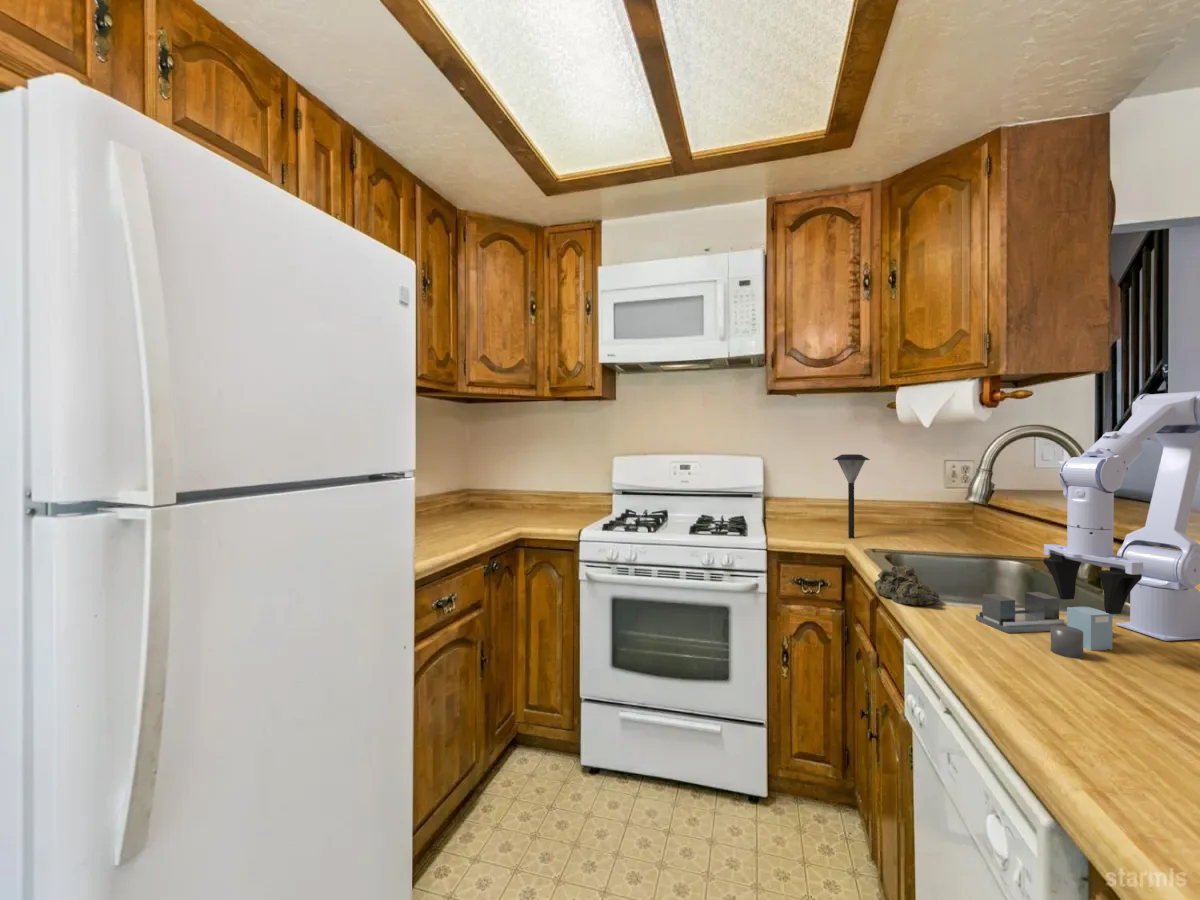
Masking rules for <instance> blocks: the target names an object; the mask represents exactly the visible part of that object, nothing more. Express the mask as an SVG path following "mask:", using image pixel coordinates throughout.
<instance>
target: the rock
mask: <svg viewBox="0 0 1200 900" xmlns="http://www.w3.org/2000/svg"><path fill="white" fill-rule="evenodd" d="M877 576H878V579H876V581H874V583H873V585H874V587H875V590H876V592H877V594H878V595H879V596H880V597H885V598H890V599H891V600H892V602H894V603H895V604H899V605H900V604H901V605H912V606H917V605H919V606H922V605H932V604H935V603H939V599H940V595H939V593H937V592H936V591H935V590H932V589H931V588H930V587H929V586H928V585H927V584H926V583H923V582H922V581H919V579H918V575H916V574H915V569H914V566H910V565H901V566H899V565H898V566H897V565H894V566H892V567H891V571H889V570H887V569H886V568H885V569H883V570H881V571H880V572H879V573H878V574H877Z"/></svg>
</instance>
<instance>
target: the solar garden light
mask: <svg viewBox="0 0 1200 900" xmlns="http://www.w3.org/2000/svg"><path fill="white" fill-rule="evenodd" d="M832 461H837V463H838V464H839V467H840V469H841V471H842V473H843V475H844V476H845V479H846V481H847V485H848V487H847V488H848V492H847V493H848V495H847V496H848V497H847V499H848V500H847V501H848V507H847V508H848V509H847V510H848V520H847V521H848V522H847V523H848V527H847V528H848V530H847V531H848V539H851V538H854V539H855V482H856V480H857V478H858V476H859V474H860V472H861V470H862V467H863V465H864V464H865V461H871V459H870V458H868V457H866V456H864V455H862V454H854V453H853V454H852V453H851V454H849V453H845V454H844V453H843V454H840V455H838V456H837V457H835V458H832Z"/></svg>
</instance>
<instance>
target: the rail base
mask: <svg viewBox="0 0 1200 900" xmlns="http://www.w3.org/2000/svg"><path fill="white" fill-rule="evenodd" d="M981 596H982V597H981V598H982V599H981V602H982V603H981V604H982V605H981V606H982V608H981V610H982V611H978V612H977V614H976V615H975V621H977V622H980V623H982V622H983V623H982V624H984V623H985V624H984V625H987V626H990V627H992V628H994V629H996V630H998V631H1001V632H1003V631H1004V633H1006V634H1016V633H1017V634H1018V633H1036V632H1037V633H1039V632H1040V633H1041V632H1051V626H1053V625H1062V626H1067V623H1065V619H1064V618H1060V597H1056V596H1053V595H1050V594H1047V593H1044V592H1040V591H1031V592H1024V609H1016V599H1013V598H1010V597H1008V596H1004V595H1001V594H998V593H983V594H982V595H981Z"/></svg>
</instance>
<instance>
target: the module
mask: <svg viewBox="0 0 1200 900" xmlns="http://www.w3.org/2000/svg"><path fill="white" fill-rule="evenodd" d="M1113 616H1114V614H1108V613H1106V612H1105V610H1104V611H1103V610H1100V609H1098V608H1095V607H1091V606H1073V607H1072V606H1071V607H1070V606H1069V607H1066V625H1067V626H1068V627H1073V628H1076V629H1079V630H1081V631H1083V649H1085V648H1086V650H1088V651H1091V650H1092V651H1105V650H1106V651H1107V649H1110V650H1113Z"/></svg>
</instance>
